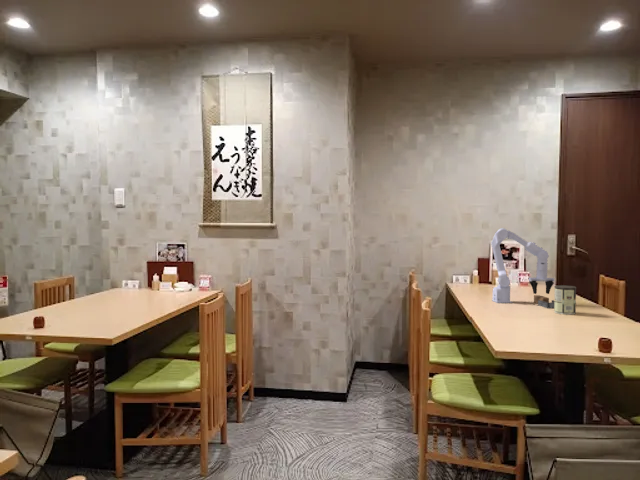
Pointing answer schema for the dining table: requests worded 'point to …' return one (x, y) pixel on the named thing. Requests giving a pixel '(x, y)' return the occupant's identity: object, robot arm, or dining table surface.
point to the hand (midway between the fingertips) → (541, 293)
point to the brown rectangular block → (540, 298)
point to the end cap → (546, 304)
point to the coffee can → (565, 299)
